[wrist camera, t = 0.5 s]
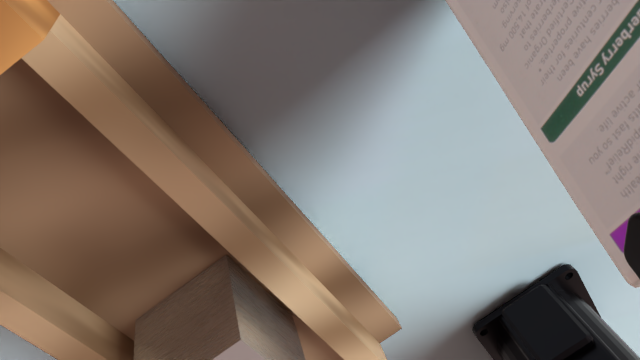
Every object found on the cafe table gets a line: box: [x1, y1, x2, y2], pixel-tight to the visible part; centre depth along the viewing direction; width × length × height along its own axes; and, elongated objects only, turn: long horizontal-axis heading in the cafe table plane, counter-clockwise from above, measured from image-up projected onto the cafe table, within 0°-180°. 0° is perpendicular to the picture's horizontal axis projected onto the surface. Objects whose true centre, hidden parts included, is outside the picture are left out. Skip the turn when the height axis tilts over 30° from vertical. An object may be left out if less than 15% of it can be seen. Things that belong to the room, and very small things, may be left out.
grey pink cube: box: [133, 255, 305, 360], centre depth 23 cm, size 5×5×5 cm
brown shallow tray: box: [0, 0, 402, 360], centre depth 22 cm, size 23×12×4 cm, turn 33°
